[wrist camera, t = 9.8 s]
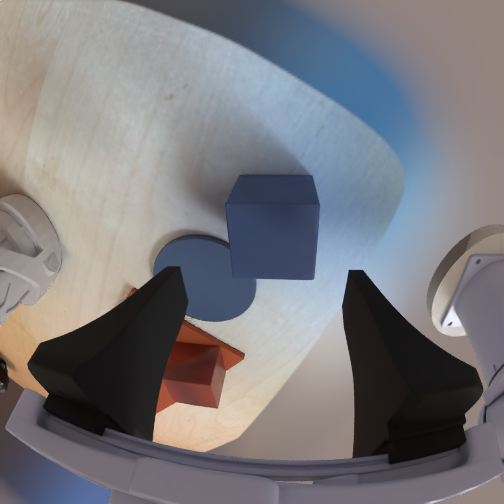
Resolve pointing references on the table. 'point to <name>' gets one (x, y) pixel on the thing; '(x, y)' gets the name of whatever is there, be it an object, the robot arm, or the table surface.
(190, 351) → the red block
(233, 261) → the blue block
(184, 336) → the terracotta mat
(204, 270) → the blue coaster
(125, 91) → the table surface
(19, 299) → the grey mechanical part
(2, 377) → the toy car
